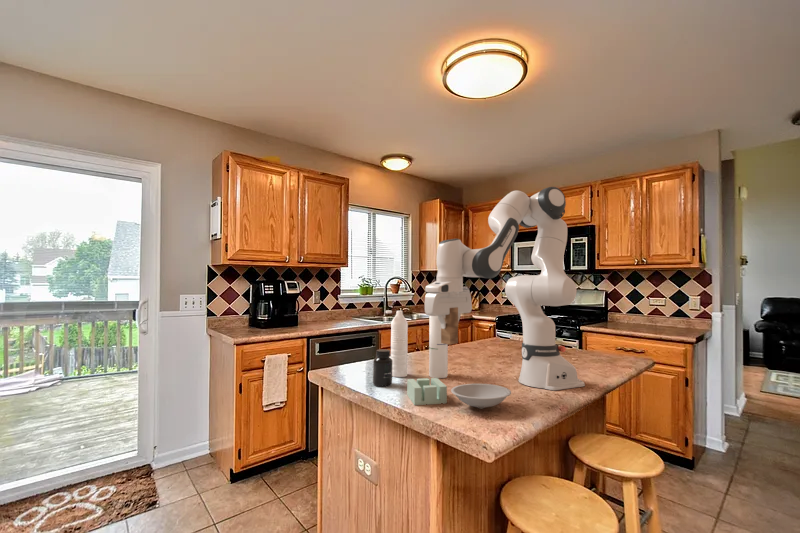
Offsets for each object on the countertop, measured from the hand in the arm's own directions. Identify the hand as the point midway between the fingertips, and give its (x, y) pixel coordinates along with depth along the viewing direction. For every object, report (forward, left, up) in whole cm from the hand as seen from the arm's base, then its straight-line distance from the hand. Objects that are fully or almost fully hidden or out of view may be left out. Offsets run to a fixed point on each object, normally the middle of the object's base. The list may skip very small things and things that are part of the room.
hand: (449, 327), depth 126 cm
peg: (0, 0, -5) cm, 5 cm away
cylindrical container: (-2, -19, -21) cm, 29 cm away
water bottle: (+14, -22, -21) cm, 34 cm away
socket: (+10, +7, -21) cm, 24 cm away
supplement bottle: (+21, -11, -21) cm, 32 cm away
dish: (-4, +17, -21) cm, 28 cm away
